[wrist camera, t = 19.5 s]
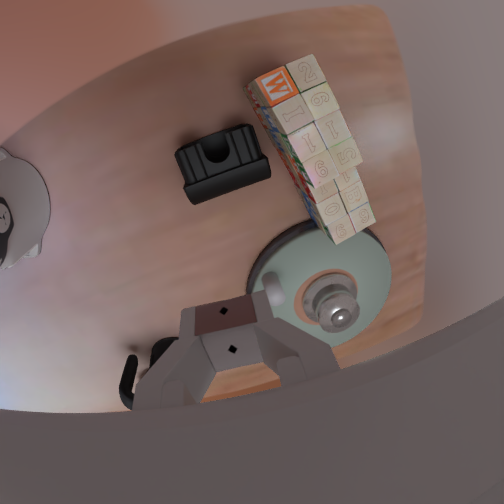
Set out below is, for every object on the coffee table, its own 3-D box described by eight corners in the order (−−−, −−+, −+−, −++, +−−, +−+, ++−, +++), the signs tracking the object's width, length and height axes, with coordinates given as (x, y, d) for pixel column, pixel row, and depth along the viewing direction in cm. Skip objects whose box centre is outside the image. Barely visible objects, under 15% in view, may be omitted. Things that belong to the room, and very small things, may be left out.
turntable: (226, 328, 48) (229, 356, 43) (298, 198, 40) (313, 214, 34) (337, 355, 56) (348, 379, 50) (410, 257, 47) (430, 275, 42)
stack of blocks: (346, 199, 43) (388, 232, 32) (311, 219, 44) (343, 259, 33) (283, 67, 33) (313, 51, 22) (240, 87, 34) (254, 77, 23)
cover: (291, 311, 47) (301, 337, 41) (319, 264, 43) (334, 287, 38) (335, 323, 49) (348, 346, 44) (364, 281, 46) (380, 302, 41)
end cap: (195, 196, 40) (193, 212, 34) (176, 148, 37) (169, 156, 31) (265, 170, 40) (275, 182, 34) (248, 121, 36) (256, 123, 30)
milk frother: (196, 333, 51) (196, 402, 38) (211, 387, 58) (215, 447, 45) (121, 340, 50) (105, 405, 36) (147, 391, 57) (141, 449, 44)
